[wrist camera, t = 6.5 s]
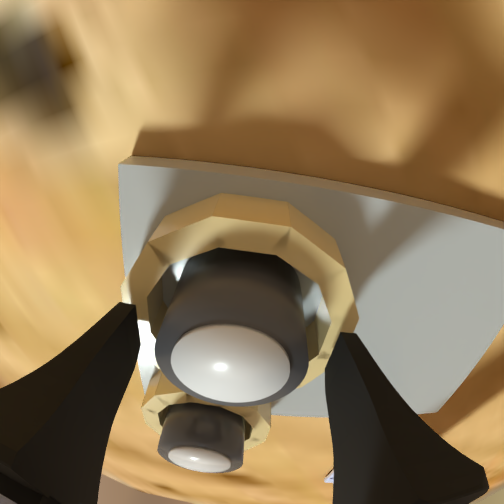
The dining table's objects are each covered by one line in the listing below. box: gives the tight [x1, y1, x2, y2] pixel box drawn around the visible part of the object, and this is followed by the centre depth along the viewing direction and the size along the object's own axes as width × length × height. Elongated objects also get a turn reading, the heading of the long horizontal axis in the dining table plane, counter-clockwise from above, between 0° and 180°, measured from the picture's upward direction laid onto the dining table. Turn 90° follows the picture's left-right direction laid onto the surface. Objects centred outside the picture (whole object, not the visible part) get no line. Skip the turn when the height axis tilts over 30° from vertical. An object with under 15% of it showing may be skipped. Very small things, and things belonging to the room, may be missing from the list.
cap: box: [154, 247, 309, 407], centre depth 11 cm, size 5×5×4 cm
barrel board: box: [118, 156, 504, 473], centre depth 14 cm, size 16×20×5 cm
